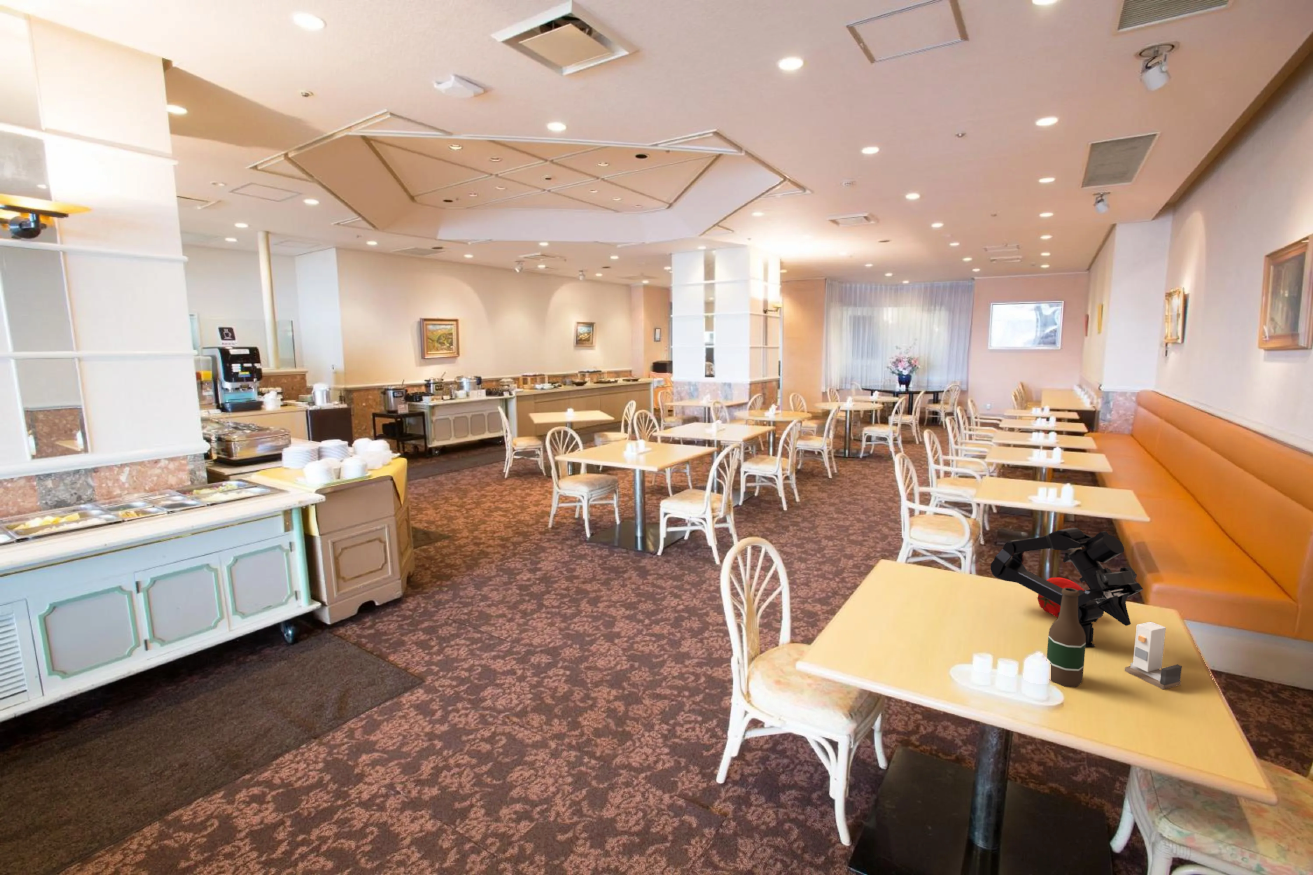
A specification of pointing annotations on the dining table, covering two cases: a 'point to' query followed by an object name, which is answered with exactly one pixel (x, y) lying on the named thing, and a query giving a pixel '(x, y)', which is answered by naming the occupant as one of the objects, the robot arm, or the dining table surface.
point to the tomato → (1050, 605)
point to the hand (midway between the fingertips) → (1128, 624)
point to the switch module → (1149, 646)
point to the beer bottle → (1067, 643)
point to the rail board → (1158, 675)
